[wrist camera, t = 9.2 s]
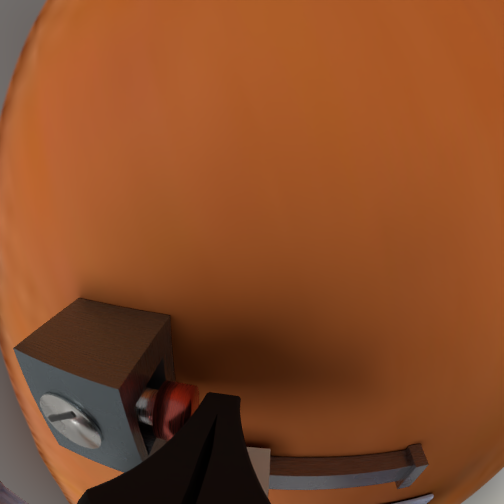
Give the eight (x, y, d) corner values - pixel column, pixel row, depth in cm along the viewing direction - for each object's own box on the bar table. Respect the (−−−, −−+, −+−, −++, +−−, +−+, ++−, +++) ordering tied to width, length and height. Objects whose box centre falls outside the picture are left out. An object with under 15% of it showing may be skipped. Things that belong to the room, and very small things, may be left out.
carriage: (262, 483, 15) (256, 544, 10) (197, 474, 15) (181, 533, 10) (271, 447, 14) (265, 523, 9) (192, 436, 14) (169, 508, 9)
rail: (403, 466, 14) (409, 486, 12) (152, 454, 15) (143, 475, 13) (420, 443, 14) (428, 464, 12) (145, 430, 15) (134, 453, 13)
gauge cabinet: (178, 409, 14) (148, 486, 9) (100, 388, 14) (56, 448, 9) (169, 315, 12) (114, 396, 7) (79, 298, 12) (8, 352, 7)
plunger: (200, 413, 12) (186, 456, 9) (118, 394, 12) (96, 429, 9) (197, 373, 11) (180, 417, 8) (108, 353, 11) (79, 388, 9)
